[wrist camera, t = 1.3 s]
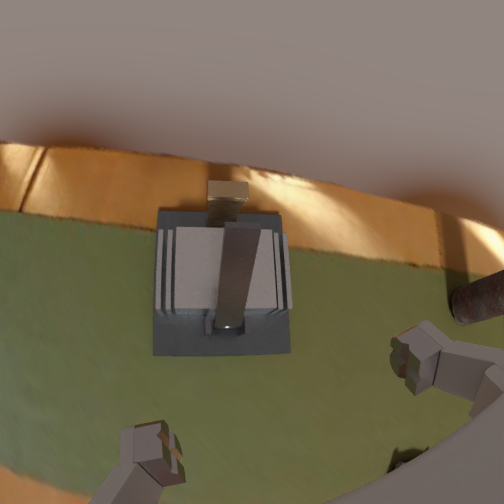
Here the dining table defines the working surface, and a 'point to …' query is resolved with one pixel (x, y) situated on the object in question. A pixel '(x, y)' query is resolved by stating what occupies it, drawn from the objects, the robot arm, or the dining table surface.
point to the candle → (479, 299)
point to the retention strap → (235, 273)
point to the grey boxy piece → (206, 281)
